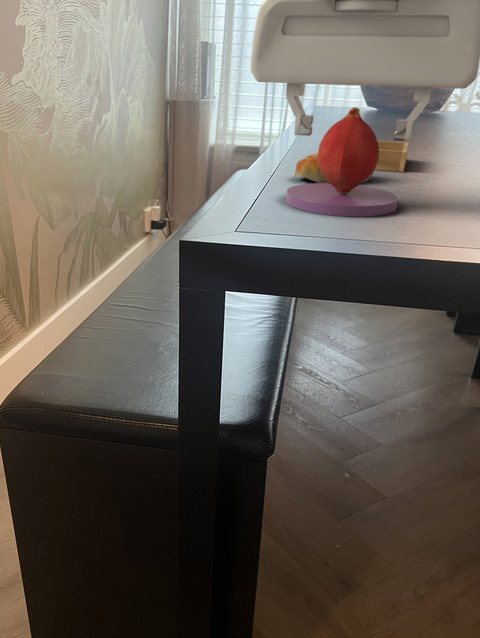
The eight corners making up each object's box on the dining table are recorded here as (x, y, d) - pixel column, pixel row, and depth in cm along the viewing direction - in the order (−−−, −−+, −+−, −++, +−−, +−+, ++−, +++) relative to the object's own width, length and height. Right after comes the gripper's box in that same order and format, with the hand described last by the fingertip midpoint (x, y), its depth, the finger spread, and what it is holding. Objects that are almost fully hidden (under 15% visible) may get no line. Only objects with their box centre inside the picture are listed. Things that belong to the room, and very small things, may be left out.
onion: (305, 188, 63) (314, 104, 59) (357, 187, 64) (369, 104, 60) (326, 200, 58) (337, 109, 54) (382, 199, 59) (396, 110, 55)
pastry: (317, 187, 68) (321, 151, 66) (280, 178, 73) (283, 144, 72) (377, 181, 73) (382, 147, 71) (338, 172, 78) (342, 140, 76)
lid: (370, 192, 67) (372, 182, 66) (416, 216, 57) (418, 205, 57) (273, 192, 65) (274, 183, 65) (303, 217, 56) (305, 206, 55)
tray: (335, 155, 91) (337, 137, 89) (405, 161, 88) (409, 142, 87) (325, 165, 82) (327, 146, 81) (403, 172, 79) (406, 151, 78)
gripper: (500, -32, 52) (464, 139, 58) (267, -28, 58) (258, 128, 64) (507, -41, 47) (467, 148, 53) (250, -35, 52) (242, 135, 59)
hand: (351, 137), depth 59 cm, fingers open, 8 cm apart
